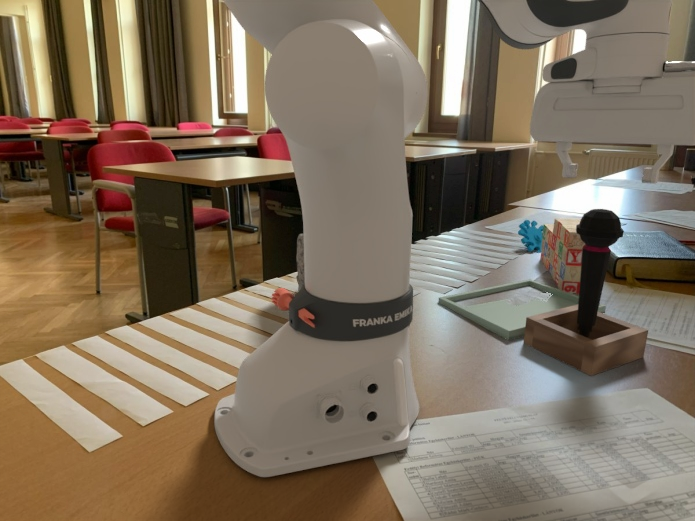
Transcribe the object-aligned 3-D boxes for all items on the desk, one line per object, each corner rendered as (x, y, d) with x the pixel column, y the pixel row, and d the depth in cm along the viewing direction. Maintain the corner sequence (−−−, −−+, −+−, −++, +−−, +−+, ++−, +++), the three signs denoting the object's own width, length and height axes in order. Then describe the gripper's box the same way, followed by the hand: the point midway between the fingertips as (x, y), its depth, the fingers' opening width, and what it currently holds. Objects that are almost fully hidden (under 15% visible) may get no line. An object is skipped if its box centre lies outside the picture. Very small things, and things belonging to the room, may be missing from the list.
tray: (508, 341, 75) (509, 331, 74) (438, 306, 88) (438, 297, 88) (604, 314, 85) (606, 305, 85) (528, 287, 99) (529, 279, 98)
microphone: (612, 352, 72) (635, 210, 66) (588, 362, 68) (610, 214, 63) (576, 338, 76) (595, 203, 70) (552, 347, 73) (570, 207, 67)
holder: (591, 375, 65) (595, 346, 64) (523, 343, 74) (526, 317, 73) (643, 357, 70) (648, 330, 69) (574, 328, 79) (577, 304, 78)
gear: (536, 257, 116) (514, 220, 119) (518, 269, 120) (498, 233, 124) (566, 250, 122) (544, 215, 125) (548, 262, 126) (528, 228, 130)
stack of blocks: (538, 264, 114) (544, 209, 111) (568, 266, 113) (575, 210, 110) (560, 296, 94) (569, 230, 91) (597, 299, 93) (607, 232, 90)
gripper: (731, 60, 58) (708, 184, 62) (547, 71, 70) (537, 172, 74) (726, 55, 53) (701, 189, 57) (530, 67, 66) (520, 176, 70)
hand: (607, 180), depth 66 cm, fingers open, 8 cm apart
